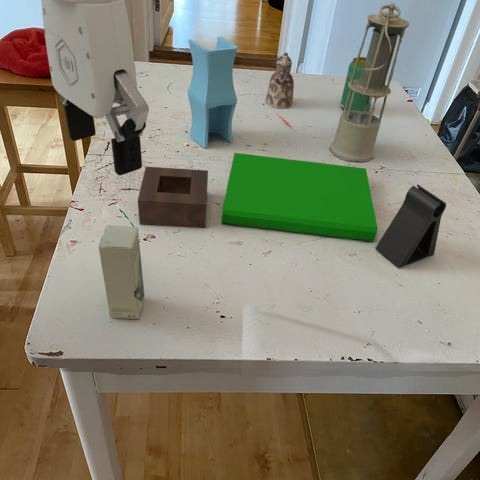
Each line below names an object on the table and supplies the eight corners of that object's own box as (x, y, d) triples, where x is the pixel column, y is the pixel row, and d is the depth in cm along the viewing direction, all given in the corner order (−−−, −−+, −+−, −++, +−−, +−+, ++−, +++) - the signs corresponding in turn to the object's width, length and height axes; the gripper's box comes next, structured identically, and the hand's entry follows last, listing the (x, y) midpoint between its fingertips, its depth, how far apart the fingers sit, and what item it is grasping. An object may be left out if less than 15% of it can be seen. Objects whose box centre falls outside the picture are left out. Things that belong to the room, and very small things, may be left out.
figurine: (262, 105, 127) (268, 56, 118) (269, 96, 131) (275, 48, 123) (288, 110, 125) (296, 61, 117) (294, 101, 130) (301, 53, 122)
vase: (216, 128, 114) (220, 36, 100) (233, 142, 110) (240, 47, 96) (187, 134, 111) (187, 39, 97) (204, 148, 107) (207, 51, 92)
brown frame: (139, 224, 85) (137, 200, 81) (147, 189, 93) (145, 166, 89) (205, 228, 86) (206, 204, 82) (207, 193, 94) (208, 170, 90)
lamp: (375, 147, 114) (419, 2, 93) (369, 171, 106) (415, 17, 84) (333, 138, 116) (367, -7, 95) (324, 161, 107) (358, 7, 86)
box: (139, 320, 68) (132, 249, 59) (109, 318, 68) (96, 247, 59) (145, 295, 72) (139, 225, 63) (116, 293, 72) (106, 222, 63)
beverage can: (366, 117, 127) (379, 69, 118) (337, 111, 128) (348, 63, 119) (370, 106, 132) (383, 60, 123) (342, 100, 133) (352, 54, 125)
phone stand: (410, 237, 89) (434, 179, 80) (433, 255, 85) (461, 197, 77) (374, 249, 85) (395, 190, 77) (397, 268, 82) (422, 209, 73)
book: (233, 165, 102) (234, 152, 100) (362, 181, 102) (365, 168, 100) (221, 224, 87) (222, 210, 85) (373, 243, 87) (377, 229, 84)
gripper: (-2, -44, 45) (38, 133, 57) (95, 1, 36) (118, 196, 49) (70, -48, 48) (94, 119, 61) (173, -7, 40) (176, 175, 53)
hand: (105, 153), depth 55 cm, fingers open, 9 cm apart
